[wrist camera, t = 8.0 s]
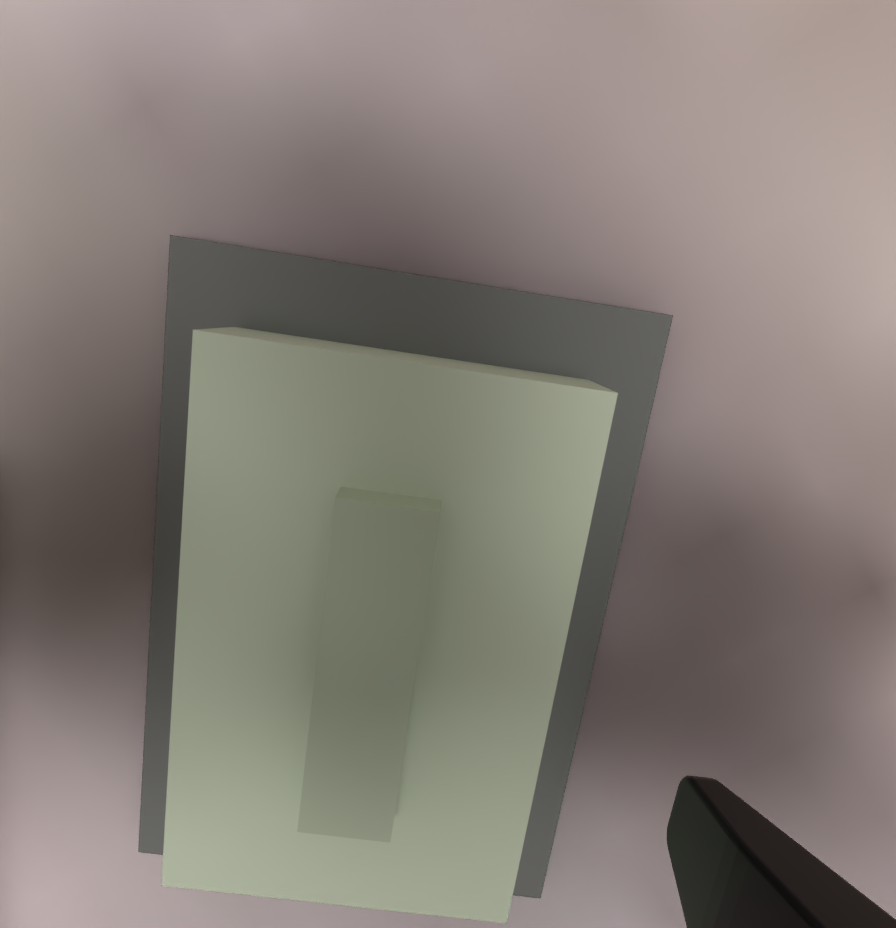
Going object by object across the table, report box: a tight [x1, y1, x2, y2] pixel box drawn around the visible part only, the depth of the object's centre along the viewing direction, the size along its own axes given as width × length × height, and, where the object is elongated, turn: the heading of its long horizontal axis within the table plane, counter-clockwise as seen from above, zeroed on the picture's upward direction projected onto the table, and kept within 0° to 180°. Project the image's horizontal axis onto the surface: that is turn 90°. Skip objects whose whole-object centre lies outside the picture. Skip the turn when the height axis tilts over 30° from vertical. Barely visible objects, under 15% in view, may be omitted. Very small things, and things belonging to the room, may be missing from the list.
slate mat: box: [138, 235, 673, 898], centre depth 13 cm, size 9×13×1 cm
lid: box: [161, 327, 618, 924], centre depth 12 cm, size 10×6×3 cm, turn 172°
